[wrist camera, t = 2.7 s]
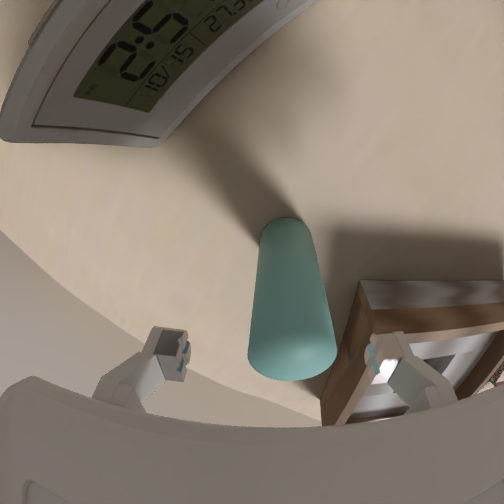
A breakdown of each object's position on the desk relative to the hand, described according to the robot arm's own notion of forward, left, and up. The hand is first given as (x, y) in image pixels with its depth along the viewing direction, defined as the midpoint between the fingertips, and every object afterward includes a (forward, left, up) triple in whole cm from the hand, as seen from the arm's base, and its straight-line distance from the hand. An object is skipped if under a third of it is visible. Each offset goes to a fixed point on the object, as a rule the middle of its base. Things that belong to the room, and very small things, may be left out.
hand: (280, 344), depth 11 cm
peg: (0, 0, -9) cm, 9 cm away
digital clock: (+4, -14, -9) cm, 18 cm away
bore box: (-15, +12, -9) cm, 21 cm away
